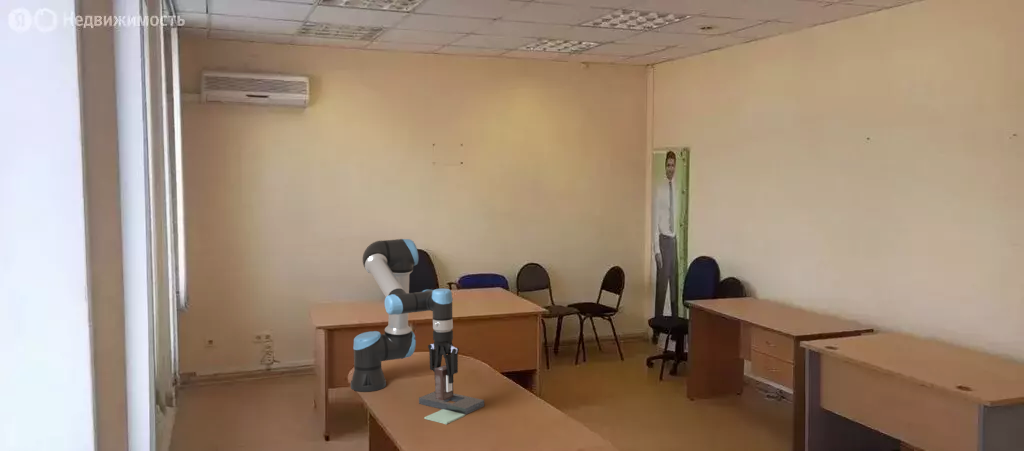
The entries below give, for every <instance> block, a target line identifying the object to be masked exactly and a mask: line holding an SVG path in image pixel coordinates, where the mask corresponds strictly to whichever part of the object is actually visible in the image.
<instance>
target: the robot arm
mask: <svg viewBox="0 0 1024 451" xmlns="http://www.w3.org/2000/svg"><path fill="white" fill-rule="evenodd" d="M418 264H419V252H418V248H417V244H416V243H415V242H414V241H413V240H412V239H410V238H398V239H386V240H385V239H384V240H376V241H373V242H372V243H370V244H369V245H368V246H366V248H365V250H364V251H363V255H362V265H363V267H364V269H365V270H366V272H367V273H369V274H370V275H371V276H372V277H373V279H374V281H375V282H376V284H377V286H378V287H379V289H380V290H381V292H382V294H383V295H384V297H385V298H384V308H385V311H386V314H388V320H387V322H388V325H387V326H385V328H384V333H382V334H381V332H380V331H377V330H374V331H372V330H371V331H365V332H361V333H360V334H357V335H356V336H355V337H354V338H353V348H352V349H353V368H354V369H353V373H352V378H351V381H350V389H351V390H352V391H354V392H364V393H365V392H374V391H380V390H382V389H384V388H386V386H387V379H386V378H385V374H384V371H383V369H382V362H386V361H393V360H402V359H406V358H410V357H412V356H413V354H414V353H415V350H416V345H417V340H416V335H415V332H414V331H412V328H411V327H410V326H409V314H410V313H419V312H420V313H421V312H429V311H431V312H432V329H433V331H432V340H433V343H430V344H428V345H427V349H428V351H429V369H430V371H433V373H434V374H435V368H438V367H441V366H442V361H443V360H442V359H443V358H444V361H445V365H446V368H447V373H448V374H446V392H450V391H452V383H453V384H454V381H455V380H454V375H456V374H458V372H459V370H458V369H459V368H458V367H459V361H458V360H459V356H458V355H459V354H458V353H459V351H460V348H459V347H455V346H454V343H453V339H454V331H453V329H454V323H453V319H454V318H453V292H452V290H451V289H449V288H436V289H424V290H422V291H418V292H417V291H416V292H410V274H411V273H412V272H413V271H414V266H416V265H418ZM450 371H451V372H450Z"/></svg>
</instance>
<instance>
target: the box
mask: <svg viewBox="0 0 1024 451" xmlns="http://www.w3.org/2000/svg"><path fill="white" fill-rule="evenodd" d="M450 372H451V371H450ZM446 374H448V373H447V368H446V364H445V365H441V367H438V368H435V373H434V386H435V388H434V389H435V390H434V392H435V396H436V399H438V400H442V401H444V400H446V399H449V398H451V397H453V393H454V382H453V383H452V391H450V392H446Z"/></svg>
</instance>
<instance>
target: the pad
mask: <svg viewBox="0 0 1024 451" xmlns="http://www.w3.org/2000/svg"><path fill="white" fill-rule="evenodd" d="M464 417H466V415H465V414H461V413H457V412H453V411H449V410H445V409H440V410H438V411H436V412H433V413H431V414H428V415H426V416H424V418H423V419H425V420H428V421H432V422H436V423H440V424H442V425H443V424H444V425H448V424H451V423H453V422H456V421H457V420H459V419H461V418H464Z"/></svg>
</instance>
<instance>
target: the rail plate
mask: <svg viewBox="0 0 1024 451" xmlns="http://www.w3.org/2000/svg"><path fill="white" fill-rule="evenodd" d="M450 401H451V402H450ZM418 404H420V405H423V406H427V407H431V408H435V409H438V410H439V409H440V410H442V409H445V410H449V411H453V412H457V413H461V414H465V416H467V415H468V414H470V413H473V412H475V411H477V410H479V409H482V408H484V407H485V399H480V398H478V397H477V398H476V397H471V396H467V395H463V394H458V393H454V392H453V397H451V398H449V399H446V400H444V401H442V400H438V399H436V396H435V391H433V392H430V393H427V394H425V395H422V396H419V397H418Z"/></svg>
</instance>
